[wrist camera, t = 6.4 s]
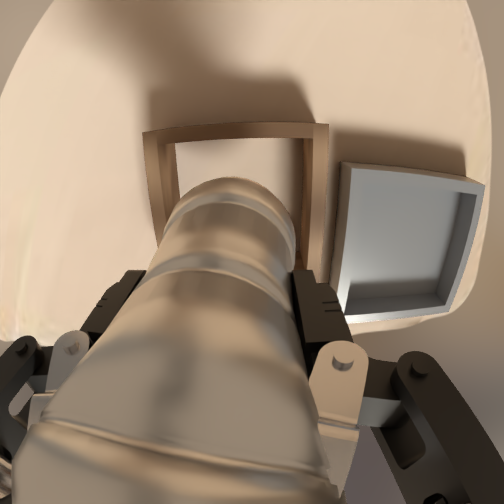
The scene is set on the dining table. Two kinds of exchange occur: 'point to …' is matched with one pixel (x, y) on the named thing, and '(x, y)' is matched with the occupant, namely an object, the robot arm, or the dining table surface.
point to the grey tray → (401, 240)
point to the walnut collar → (314, 137)
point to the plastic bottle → (191, 376)
